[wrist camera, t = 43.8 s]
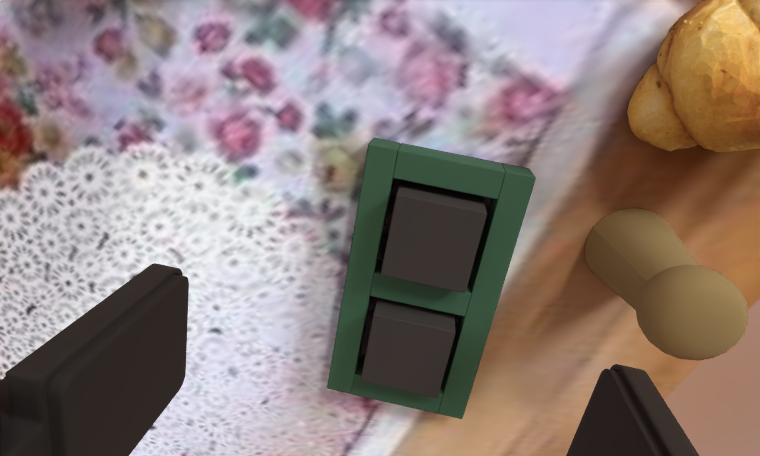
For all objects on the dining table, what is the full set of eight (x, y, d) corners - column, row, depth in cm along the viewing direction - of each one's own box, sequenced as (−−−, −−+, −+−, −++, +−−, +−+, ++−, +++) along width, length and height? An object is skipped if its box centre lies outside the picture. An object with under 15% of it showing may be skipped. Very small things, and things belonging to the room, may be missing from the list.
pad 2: (367, 350, 41) (360, 381, 37) (380, 288, 39) (373, 314, 35) (437, 366, 40) (437, 398, 37) (454, 304, 38) (455, 332, 35)
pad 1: (386, 252, 37) (380, 275, 34) (401, 178, 35) (396, 194, 32) (462, 269, 37) (465, 293, 33) (482, 195, 35) (487, 213, 31)
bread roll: (633, 172, 33) (689, 208, 26) (592, 33, 30) (641, 27, 23) (847, 94, 30) (982, 109, 23) (822, -69, 27) (965, -113, 20)
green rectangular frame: (333, 369, 42) (326, 388, 39) (373, 137, 34) (368, 143, 32) (461, 398, 41) (462, 419, 39) (529, 168, 34) (536, 177, 32)
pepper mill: (690, 251, 35) (796, 336, 24) (616, 300, 36) (685, 397, 26) (641, 190, 33) (729, 252, 23) (567, 243, 35) (618, 322, 25)
